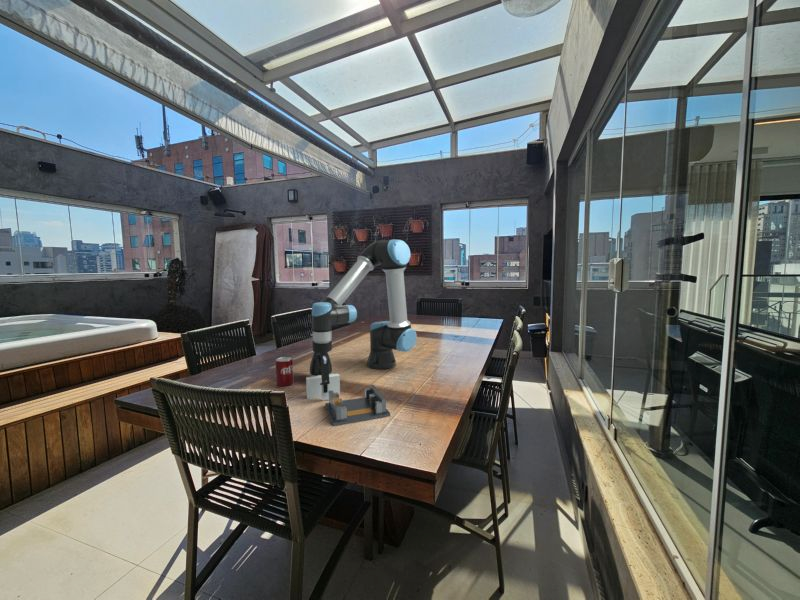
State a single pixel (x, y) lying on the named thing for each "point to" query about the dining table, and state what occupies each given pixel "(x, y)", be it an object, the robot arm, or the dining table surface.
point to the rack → (356, 407)
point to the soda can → (284, 372)
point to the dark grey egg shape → (314, 365)
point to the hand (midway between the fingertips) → (323, 394)
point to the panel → (315, 388)
